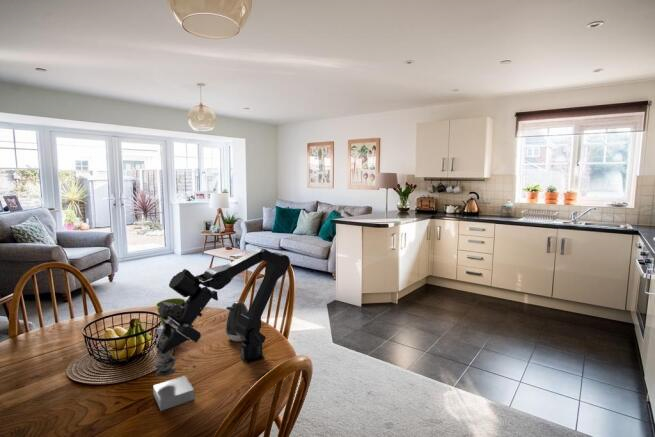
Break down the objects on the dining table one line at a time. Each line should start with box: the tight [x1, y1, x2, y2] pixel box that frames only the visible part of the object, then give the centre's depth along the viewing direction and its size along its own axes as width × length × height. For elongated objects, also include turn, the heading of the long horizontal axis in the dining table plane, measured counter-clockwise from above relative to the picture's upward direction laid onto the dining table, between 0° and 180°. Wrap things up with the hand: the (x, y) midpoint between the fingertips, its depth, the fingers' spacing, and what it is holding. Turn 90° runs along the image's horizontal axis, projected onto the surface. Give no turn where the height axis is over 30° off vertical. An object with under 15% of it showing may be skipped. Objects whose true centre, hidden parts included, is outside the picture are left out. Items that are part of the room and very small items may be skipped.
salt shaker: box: [153, 334, 177, 378], centre depth 106 cm, size 6×6×12 cm
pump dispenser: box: [224, 300, 249, 342], centre depth 142 cm, size 10×10×15 cm
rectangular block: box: [152, 375, 195, 412], centre depth 104 cm, size 9×9×3 cm
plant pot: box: [155, 297, 187, 326], centre depth 151 cm, size 12×12×11 cm
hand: (159, 350), depth 105 cm, fingers closed on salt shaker, 4 cm apart
